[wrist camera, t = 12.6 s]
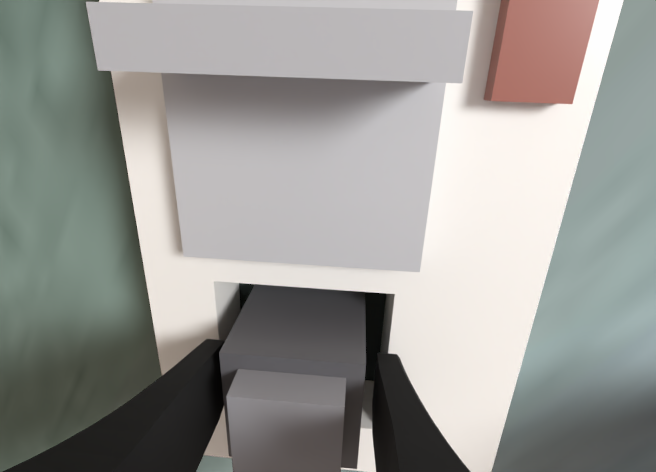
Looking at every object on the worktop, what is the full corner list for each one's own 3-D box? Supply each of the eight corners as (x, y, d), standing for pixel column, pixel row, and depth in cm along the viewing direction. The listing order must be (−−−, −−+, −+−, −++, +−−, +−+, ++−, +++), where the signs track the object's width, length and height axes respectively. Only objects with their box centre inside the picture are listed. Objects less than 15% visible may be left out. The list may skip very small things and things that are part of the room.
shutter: (452, -7, 9) (505, -55, 5) (416, 262, 11) (438, 335, 8) (163, -12, 9) (55, -61, 6) (191, 247, 11) (128, 312, 8)
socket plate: (584, -48, 10) (668, -95, 7) (471, 429, 17) (492, 499, 14) (141, -54, 11) (64, -99, 8) (198, 404, 17) (167, 466, 15)
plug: (365, 282, 14) (366, 393, 9) (358, 367, 16) (356, 502, 11) (259, 275, 15) (205, 379, 10) (263, 359, 16) (217, 487, 11)
